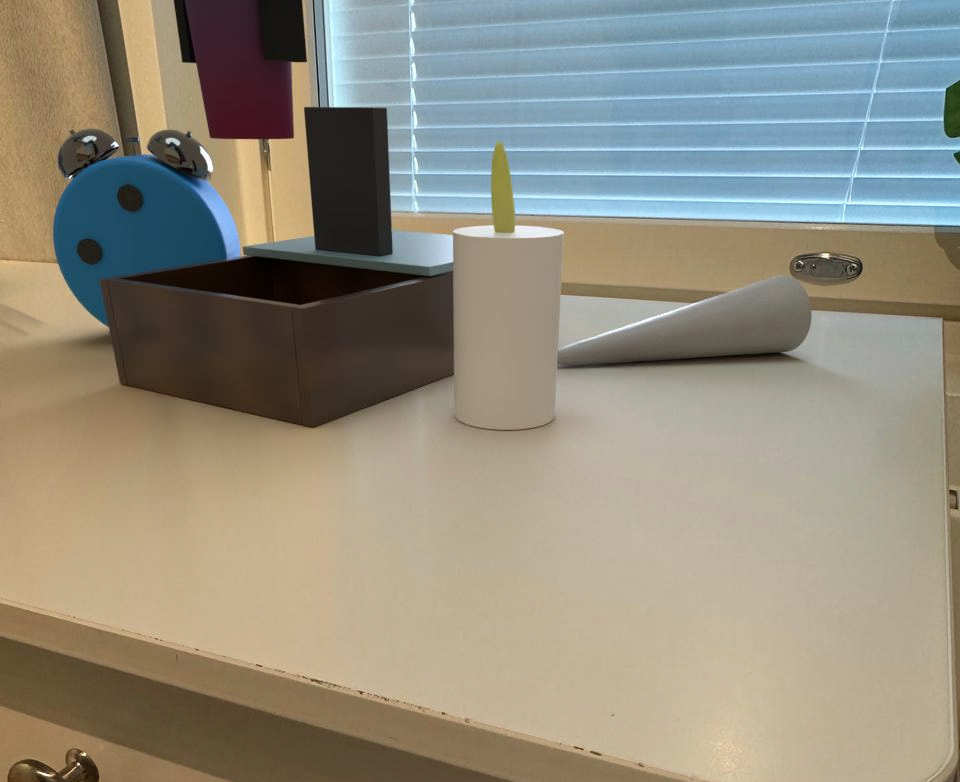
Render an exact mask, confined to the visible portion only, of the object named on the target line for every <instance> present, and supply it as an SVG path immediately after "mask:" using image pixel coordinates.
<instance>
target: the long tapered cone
mask: <svg viewBox="0 0 960 782" xmlns="http://www.w3.org/2000/svg"><path fill="white" fill-rule="evenodd" d="M811 305H812V304H811V301H810V298H809V295H808V292H807V291H806V288H804V286H803V285H802V283H800V281H799V280H797V279H796V278H795V277H793V276H790V275H786V274H779V275H775V276H773V277H769V278H766V279H763V280H759V281H756V282H754V283H750V284H747V285H745V286H742V287H739V288H737V289H734V290H731V291H728V292H725V293H722V294H718V295H714V296H712V297H710V298H707V299H703V300H700V301H697V302H694V303H692V304H688V305H685V306H682V307H679V308H677V309H676V308H675V309H673V310H671V311H668V312H664V313H662V314H658V315H656V316H652V317H649V318H646V319H643V320H641V321H637V322H635V323H631V324H628V325H625V326H622V327H620V328H615V329H614V330H609V331H607V332H604V333H601V334H599V335H595V336H593V337H589V338H586V339H583V340H580V341H577V342H573V343H571V344H568V345H566V346H563V347H562V348H558V357H557V366H558V365H559V366H585V365H602V364H616V363H617V364H618V363H619V364H620V363H633V362H648V361H664V360H665V361H666V360H675V359H676V360H677V359H679V360H681V359H693V358H694V359H696V358H711V357H712V358H713V357H726V356H727V357H728V356H737V355H738V356H741V355H762V354H776V353H777V354H778V353H788V352H792V351H794V350H796V349H797V348H799V347H800V346H801V345H802V344H803V343H804V341H805V339H806V338H807V336H808V334H809V332H810V328H811V325H812V306H811Z"/></svg>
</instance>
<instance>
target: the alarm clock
mask: <svg viewBox="0 0 960 782" xmlns="http://www.w3.org/2000/svg"><path fill="white" fill-rule="evenodd" d="M68 132H69V134H70V135H69V136H68V137H67V138H66V139H64V140H63V142H62V143H61V145H60V147H59V149H58V152H57V167H58V171H59V173H60V174H61V176H62V178H63V179H64V181H68V180H71V181H70V182H69V183H68V184H67V186H66V187H65V189H64V190H63V192H62V193H61V195H60V198H59V200H58V203H57V205H56V208H55V212H54V216H53V224H52V239H53V241H52V242H53V248H54V254H55V259H56V262H57V265H58V268H59V270H60V273H61V275H62V277H63V279H64V282H65V283H66V285H67V287H68V288H69V290H70V292H71V293H72V294H73V296H74V298H76V300H77V301H78V303H80V305H81V306H82V307H83V308H84V309H85V311H87V312H88V313H89V314H90V315H91V316H92V317H94V318H95V319H96V320H97V321H98V322H100V323H101V324H103V325H104V326H105V327H108V328H109V326H108V321H107V316H106V311H105V306H104V301H103V296H102V291H101V286H100V281H99V279H101V278H107V277H114V276H120V275H126V274H133V273H139V272H145V271H152V270H158V269H164V268H171V267H177V266H184V265H190V264H196V263H203V262H209V261H215V260H222V259H228V258H235V257H241V256H242V253H241V242H240V237H239V234H238V229H237V226H236V224H235V221H234V218H233V216H232V213H231V211H230V209H229V208H228V206H227V204H226V203H225V201H224V199H223V198H222V197H221V195H220V194H219V193H218V192H217V190H216V189H215V187H213V186H212V184H210V183H209V182H211V181H212V179H213V175H214V164H213V163H214V162H213V160H212V157H211V156H210V154H209V151H208V150H207V149H206V148H205V146H204V145H203V144H202V143H201V142H200V141H198V140H197V138H194V137H193V136H192V132H191V131H190V130H187V132H186V133H185V132H184V131H181V130H178V129H170V128H169V129H162V130H158V131H157V132H155V133H153V134H152V135H151V136H150V138H149V139H148V142H147V144H146V149H147V151H148V152H149V153H151V154H148V153H142V154H137V153H136V148H135V143H140V142H141V139H140V136H124V140H125V142H126V143H132V148H133V154H130V155H129V154H128V155H124V156H117V157H112V156H113V155H115V154H116V153H117V152H118V151H119V150H120V149H121V145H120V143H119V142H118V141H117V139H116V138H115V137H114V136H113V135H111V134H110V133H109V132H107V131H105V130H102V129H99V128H91V127H90V128H84V129H80V130H78V131H75V130H74V129H71V130H69V131H68ZM111 157H112V158H111Z"/></svg>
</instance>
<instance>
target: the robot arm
mask: <svg viewBox="0 0 960 782" xmlns="http://www.w3.org/2000/svg"><path fill="white" fill-rule="evenodd" d="M258 2H259V12H260V22H261V32H262V42H263V52H264V60H267V61H282V62H291V63H308V58H307V57H308V56H307V55H308V54H307V42H306V30H305V18H304V17H305V16H304V6H303V0H258ZM173 5H174V13H175V21H176V27H177V35H178V40H179V48H180V56H181V62H182V63H184V64H187V63H188V64H196V59H195V54H194V48H193V43H192V37H191V32H190V27H189V21H188V16H187V10H186V5H185V0H173Z"/></svg>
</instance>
